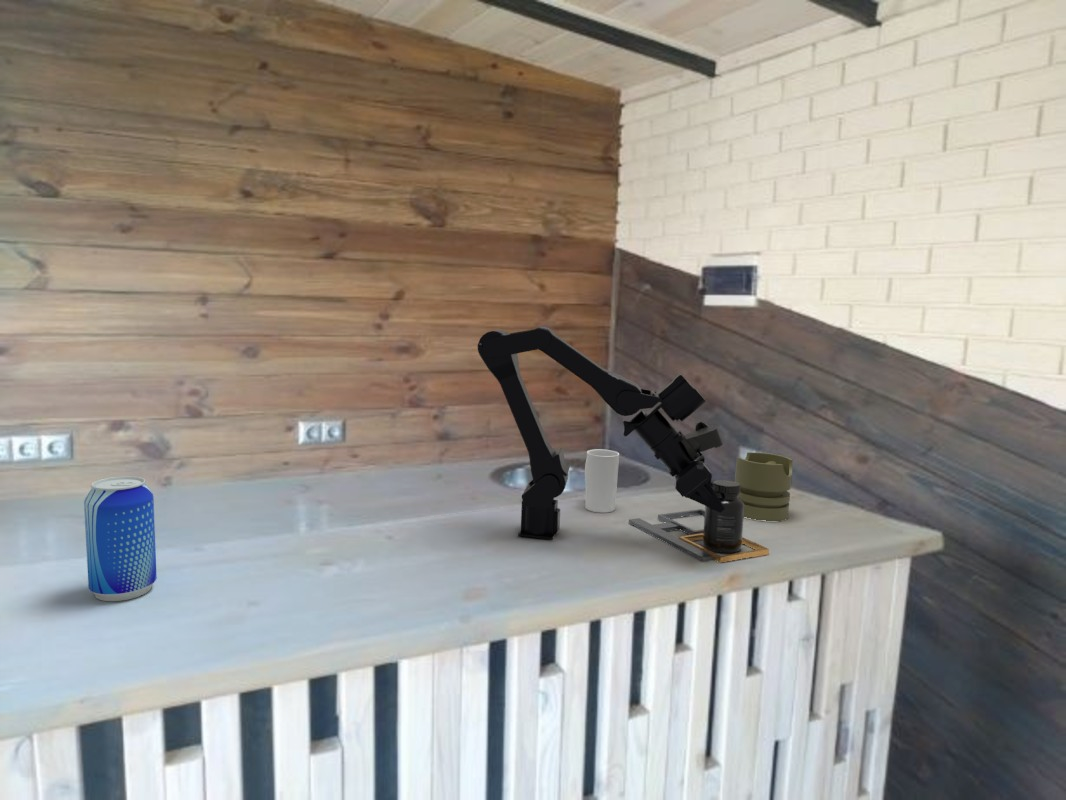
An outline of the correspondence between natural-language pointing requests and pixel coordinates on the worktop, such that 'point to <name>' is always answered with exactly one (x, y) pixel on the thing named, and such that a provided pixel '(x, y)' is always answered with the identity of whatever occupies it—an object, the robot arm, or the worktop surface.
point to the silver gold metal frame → (692, 538)
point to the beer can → (120, 538)
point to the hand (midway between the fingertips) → (719, 503)
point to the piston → (764, 485)
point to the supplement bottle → (724, 519)
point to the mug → (601, 480)
